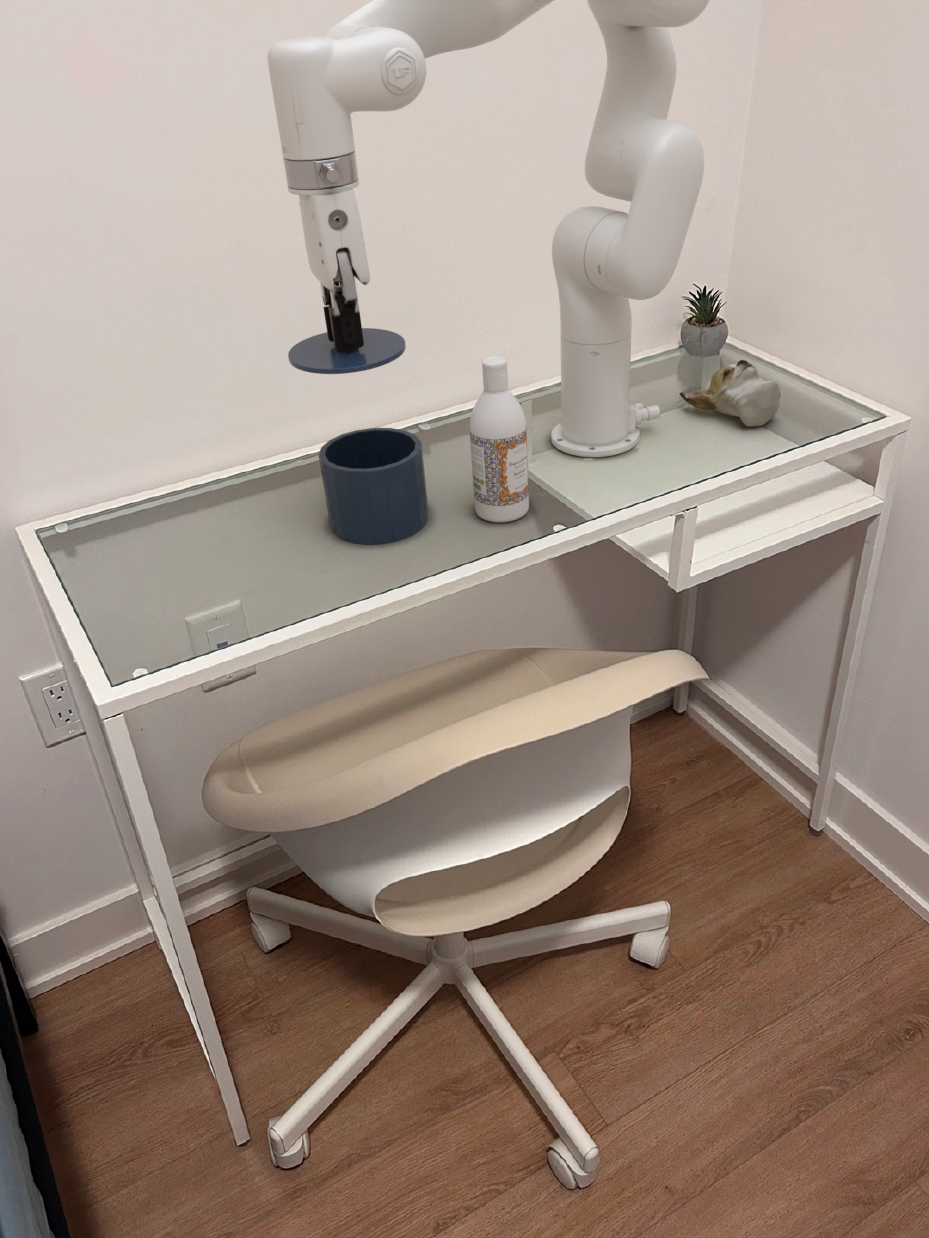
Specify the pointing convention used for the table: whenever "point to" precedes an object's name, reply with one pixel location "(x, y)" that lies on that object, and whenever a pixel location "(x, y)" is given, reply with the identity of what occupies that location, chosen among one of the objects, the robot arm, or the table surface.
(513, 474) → the bath foam
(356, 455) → the tin
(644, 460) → the table surface
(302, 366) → the tin lid
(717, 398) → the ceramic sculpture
